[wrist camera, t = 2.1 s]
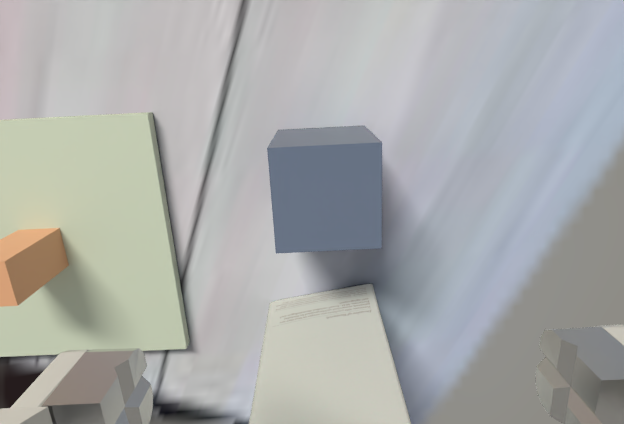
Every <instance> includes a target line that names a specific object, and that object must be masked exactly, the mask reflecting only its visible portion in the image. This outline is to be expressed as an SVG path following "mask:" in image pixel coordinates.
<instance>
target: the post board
mask: <svg viewBox="0 0 624 424" xmlns="http://www.w3.org/2000/svg"><path fill="white" fill-rule="evenodd" d="M189 342H190V340H189V334H188V328H187V322H186V316H185V310H184V304H183V297H182V291H181V285H180V279H179V273H178V267H177V261H176V254H175V248H174V242H173V236H172V230H171V224H170V218H169V212H168V205H167V199H166V193H165V187H164V181H163V175H162V169H161V162H160V156H159V150H158V144H157V138H156V132H155V126H154V119H153V113H152V112H150V113H130V114H110V115H90V116H70V117H51V118H31V119H11V120H0V357H10V356H33V355H56V354H60V353H62V352H65V351H68V350H87V349H88V350H92V349H128V348H139V349H141V350H142V351H149V350H172V349H187V347H188V345H189Z"/></svg>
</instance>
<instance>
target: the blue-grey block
mask: <svg viewBox="0 0 624 424" xmlns="http://www.w3.org/2000/svg"><path fill="white" fill-rule="evenodd" d="M267 150H268V162H269V174H270V186H271V199H272V211H273V223H274V235H275V247H276V253H293V252H315V251H337V250H358V249H380V248H382V142H381V141H380V140H379V139H378V138H377V137H376V136H375V135H374V134H373V133H372V132H371V131H370V130H368V129H367V128H366V127H365V126H347V127H327V128H307V129H287V130H278V131H277V133H276V134H275V136H274V138H273V139H272V141H271V143H270V144H269V146H268V148H267Z"/></svg>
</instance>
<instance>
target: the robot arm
mask: <svg viewBox="0 0 624 424" xmlns="http://www.w3.org/2000/svg"><path fill="white" fill-rule="evenodd" d="M539 348H540V350H541V351H542V352H543V354H544V355H545V358H544V359H543V360H542V361H541V362H540V363H539V364H538V365H537V366H536V377H535V382H536V387H537V393H538V396H539V398H540V401H541V403H542V405H543V407H544V408H545V410H546V411H547V412H548V414H549V415H550V416H551V417H553V418H554V419H556V420H558V421H559V422H561V423H563V424H624V325H621V324H619V325H606V326H596V327H586V328H570V329H555V330H554V329H553V330H544V332H543V334H542V336H541V338H540V345H539ZM146 367H147V363H146V359H145V355H144V352H143V351H142V350H141V349H139V348H128V349H92V350H88V349H87V350H68V351H65V352H62V353H60V354H59V355H58V356H57V357H56V358H55V359H54V360H53V362H52V363H51V364H50V365H49V366H48V367H47V368H46V369H45V370H44V371H43V372H42V374H41V375H40V376H39V377H38V378H37V379H36V380H35V381H34V383H32V385H31V386H30V387H29V388H28V389H27V390H26V391H25V392H24V393H23V394H22V396H21V397H20V398H19V399H18V400H17V401H16V402H15V403H14V404H13V405H12V407H11V408H6V409H0V424H149V422H150V418H151V413H152V408H153V393H152V388H151V384H150V383H149V382H148V381H147V380H146V379H145V378H144V377H143V376H142V374H143V372H144V371H145V369H146Z"/></svg>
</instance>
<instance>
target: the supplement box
mask: <svg viewBox="0 0 624 424" xmlns="http://www.w3.org/2000/svg"><path fill="white" fill-rule="evenodd" d="M249 424H411V421H410V417H409V414H408V410H407V407H406V403H405V400H404V396H403V392H402V389H401V385H400V382H399V378H398V374H397V371H396V367H395V364H394V360H393V357H392V353H391V350H390V346H389V342H388V339H387V335H386V332H385V328H384V325H383V321H382V318H381V314H380V311H379V307H378V303H377V300H376V296H375V292H374V288H373V285H372V284H365V285H359V286H353V287H347V288H342V289H336V290H330V291H325V292H319V293H314V294H308V295H303V296H297V297H292V298H286V299H281V300H277V301H273V302H271V303H270V306H269V311H268V316H267V322H266V328H265V334H264V340H263V345H262V351H261V357H260V363H259V369H258V375H257V381H256V386H255V392H254V398H253V404H252V410H251V415H250V421H249Z"/></svg>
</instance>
